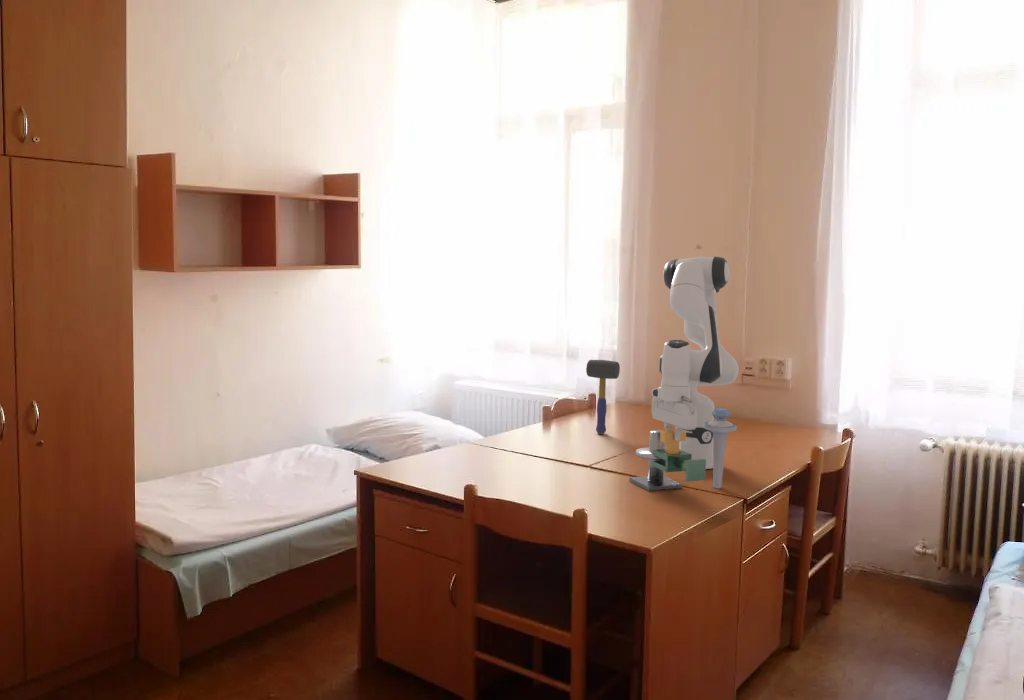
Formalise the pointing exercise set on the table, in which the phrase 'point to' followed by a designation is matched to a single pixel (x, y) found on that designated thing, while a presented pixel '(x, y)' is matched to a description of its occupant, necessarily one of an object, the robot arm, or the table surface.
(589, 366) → the rubber mallet
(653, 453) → the bracket post
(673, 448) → the yellow t-shaped block
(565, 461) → the table surface
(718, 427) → the novelty light stick
